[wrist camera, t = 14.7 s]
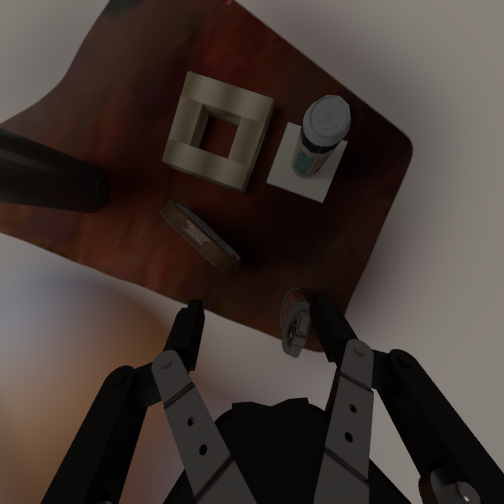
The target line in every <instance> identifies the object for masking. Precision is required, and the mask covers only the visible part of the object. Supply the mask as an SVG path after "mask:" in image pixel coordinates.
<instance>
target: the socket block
mask: <svg viewBox="0 0 504 504" xmlns="http://www.w3.org/2000/svg"><path fill="white" fill-rule="evenodd" d="M273 101H274V99H273V98H270V97H267V96H263V95H260V94H257V93H254V92H251V91H248V90H245V89H242V88H239V87H236V86H233V85H230V84H226V83H223V82H220V81H217V80H214V79H211V78H208V77H205V76H202V75H199V74H196V73H193V72H189V71H188V74H187V77H186V80H185V84H184V87H183V91H182V94H181V97H180V101H179V104H178V108H177V111H176V114H175V118H174V121H173V125H172V128H171V132H170V135H169V138H168V142H167V145H166V149H165V152H164V155H163V159H162V161H163V162H164V163H166V164H167V165H169V166H170V167H171V168H174V169H177V170H179V171H182V172H185V173H188V174H190V175H193V176H196V177H199V178H201V179H204V180H207V181H210V182H212V183H215V184H218V185H221V186H223V187H226V188H229V189H232V190H234V191H237V192H240V193H243V194H244V193H245V190H246V188H247V185H248V182H249V179H250V176H251V174H252V171H253V168H254V165H255V162H256V159H257V157H258V154H259V151H260V148H261V145H262V143H263V140H264V137H265V134H266V131H267V128H268V126H269V123H270V120H271V117H272V114H273ZM209 116H211V117H214V118H217V119H220V120H223V121H226V122H229V123H232V124H235V125H238V126H239V127H238V130H237V133H236V136H235V139H234V142H233V145H232V148H231V151H230V154H229V157H228V159H226V158H223V157H221V156H218V155H215V154H212V153H209V152H206V151H204V150H201V149H199V146H200V143H201V140H202V137H203V133H204V130H205V127H206V124H207V121H208V118H209Z"/></svg>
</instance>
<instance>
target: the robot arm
mask: <svg viewBox="0 0 504 504" xmlns="http://www.w3.org/2000/svg"><path fill="white" fill-rule="evenodd" d="M107 193H108V185H107V181H106V178H105V176H104V175H103V173H102V172H101V171H100V170H99V169H98V168H97V167H96V166H94V165H92V164H90V163H87V162H85V161H82V160H80V159H77V158H75V157H72V156H70V155H68V154H65V153H63V152H60V151H58V150H55V149H53V148H50V147H48V146H45V145H43V144H40V143H38V142H35V141H33V140H30V139H28V138H25V137H23V136H20V135H18V134H15V133H13V132H10V131H8V130H5V129H3V128H0V202H5V203H13V204H21V205H29V206H37V207H45V208H52V209H60V210H68V211H76V212H84V213H90V212H94V211H96V210H98V209H99V208H100V207H101V206H102V205H103V204H104V202H105V200H106V198H107ZM309 314H310V318H311V320H312V323H313V325H314V328H315V330H316V332H317V335H318V337H319V340H320V342H321V345H322V347H323V349H324V352H325V354H326V357H327V359H328V361H329V362H335V363H336V365H337V368H336V372H335V375H334V379H333V383H332V387H331V392H330V395H329V398H328V402H327V405H326V408H325V411H323V410H322V409H320V408H319V407H317V406H315V405H312V404H309V402H308V398H295V399H288V400H285V401H283V402H281V403H278V404H276V405H274V406H266V405H262V404H258V403H254V402H240V403H232V409H231V410H229V411H227V412H225V413H223V414H222V415H221V416H220V417H219V418H218V419H217V420H216V421H215V422H214V421H213V419H212V417H211V416H210V413H209V412H208V410H207V408H206V406H205V404H204V402H203V400H202V398H201V396H200V394H199V392H198V390H197V388H196V386H195V385H194V383H193V382H192V381H191V379H190V377H189V371H195V367H196V362H197V356H198V352H199V346H200V341H201V337H202V332H203V327H204V321H205V315H204V309H203V304H202V300H201V299H197V300H190V301H189V304H188V307H187V308H182V309H181V310H180V311H179V312H178V313H177V316H176V318H175V321H174V323H173V326H172V329H171V331H170V334H169V337H168V340H167V342H166V345H165V347H164V350H163V352H162V353H161V354H159V355H158V356H157V357H156V358H155V360H154V361H153V362H151V363H149V364H147V365H144V366H141V367H138V368H136V369H133V367H131V366H128V365H126V366H121V367H119V368H117V369H115V370H114V371H113V372H111V373H110V374H109V375H108V376H107V378H106V379H105V381H104V383H103V385H102V386H101V388H100V391H99V392H98V394H97V396H96V398H95V400H94V402H93V404H92V406H91V408H90V410H89V412H88V413H87V415H86V417H85V419H84V421H83V423H82V425H81V427H80V429H79V431H78V433H77V434H76V437H75V438H74V440H73V442H72V444H71V446H70V448H69V450H68V452H67V454H66V456H65V457H64V459H63V461H62V463H61V465H60V467H59V469H58V471H57V473H56V475H55V477H54V479H53V480H52V482H51V484H50V486H49V488H48V490H47V492H46V494H45V496H44V498H43V500H42V502H41V504H118V503H119V500H120V497H121V494H122V490H123V487H124V484H125V480H126V477H127V474H128V470H129V467H130V464H131V460H132V457H133V454H134V451H135V447H136V444H137V441H138V437H139V434H140V431H141V427H142V424H143V421H144V418H145V414H146V411H147V408H148V406H151V405H153V404H155V403H157V402H160V401H163V404H164V410H165V413H166V416H167V419H168V422H169V425H170V428H171V430H172V433H173V436H174V439H175V442H176V445H177V448H178V450H179V453H180V456H181V459H182V462H183V464H184V468H185V469H184V470H183V472H182V474H181V475H180V477H179V478H178V480H177V482H176V483H175V485H174V487H173V488H172V490H171V491H170V493H169V494H168V496H167V498H166V499H165V501H164V503H163V504H411V502H410V501H409V500H408V499H407V498H406V497H405V496H404V495H403V494H402V493H401V492H400V491H399V490H398V488H397V487H396V486H395V485H394V484H393V483H392V482H391V481H390V480H389V479H388V478H387V477H386V476H385V475H384V473H383V472H382V471H381V470H380V469H379V468H378V467H377V466H376V465H375V464H374V463H373V461H372V460H371V459H370V458H369V453H370V440H371V426H372V413H373V401H374V393H373V391H372V390H371V388H373V389H376V390H377V392H378V393H379V395H380V397H381V400H382V401H383V403H384V405H385V407H386V409H387V411H388V413H389V415H390V417H391V419H392V421H393V423H394V425H395V427H396V429H397V431H398V433H399V434H400V437H401V438H402V441H403V443H404V444H405V446H406V448H407V450H408V452H409V454H410V456H411V458H412V460H413V462H414V464H415V466H416V468H417V470H418V472H419V474H420V476H421V477H420V479H419V482H418V483H419V484H418V487H419V492H420V496H421V498H422V502H423V504H504V474H503V472H502V471H501V469H500V468H499V467H498V466H497V464H496V463H495V462H494V460H493V459H492V458H491V457H490V455H489V454H488V453H487V451H486V450H485V449H484V447H483V446H482V445H481V443H480V442H479V441H478V440H477V438H476V437H475V436H474V435H473V433H472V432H471V430H470V429H469V428H468V427H467V425H466V424H465V423H464V421H463V420H462V419H461V417H460V416H459V415H458V414H457V412H456V411H455V410H454V408H453V407H452V406H451V404H450V403H449V402H448V401H447V399H446V398H445V397H444V395H443V394H442V393H441V391H440V390H439V389H438V387H437V386H436V385H435V384H434V382H433V381H432V380H431V378H430V377H429V376H428V374H427V373H426V372H425V371H424V369H423V368H422V367H421V365H420V364H419V363H418V361H417V360H416V359H415V358H414V357H413V356H412V355H410V354H409V353H407V352H405V351H403V350H400V349H393V350H391V351H390V352H389V353H385V352H380V351H376V350H373V349H371V348H370V347H369V346H368V345H367V344H366V343H364V342H362V341H360V340H359V339H358V338H357V336H356V335H355V333H354V331H353V330H352V328H351V327H350V325H349V323H348V321H347V320H346V319H345V317H344V315H343V314H342V312H341V310H340V308H339V307H338V306H337V305H336V304H335V303H334V302H333V301H328V300H327V298H326V296H325V295H324V294H313V295H312V299H311V303H310V308H309Z"/></svg>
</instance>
